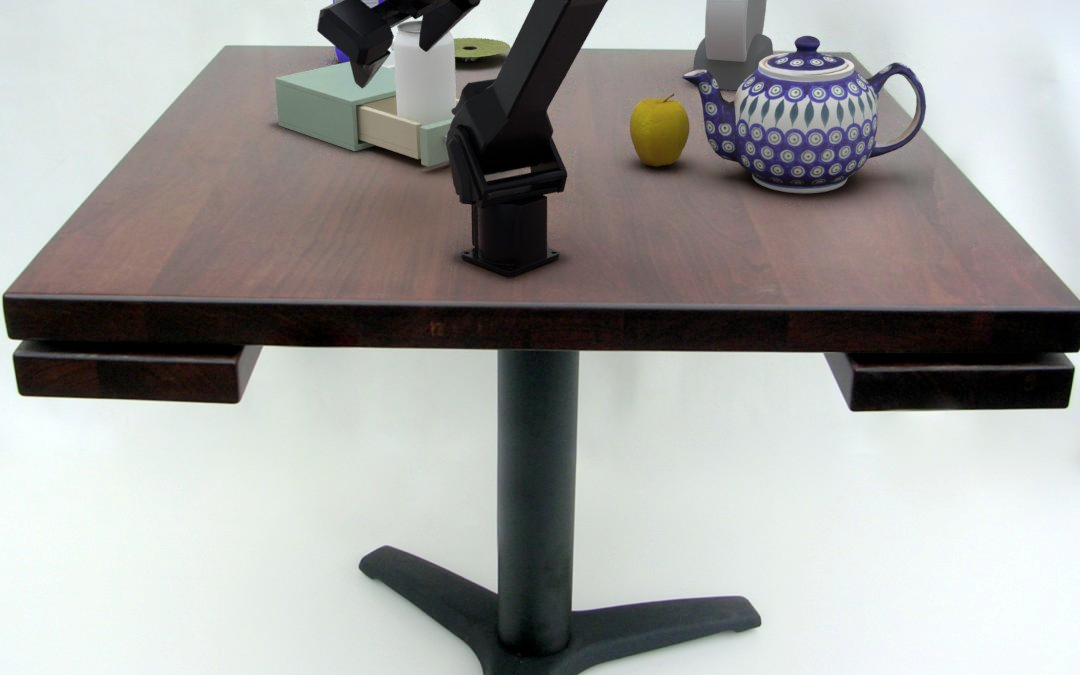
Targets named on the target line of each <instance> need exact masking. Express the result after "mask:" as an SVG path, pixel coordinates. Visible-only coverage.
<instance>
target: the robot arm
mask: <svg viewBox="0 0 1080 675" xmlns="http://www.w3.org/2000/svg"><path fill="white" fill-rule="evenodd" d="M481 1H482V0H384V2H382V3H380V4H378V5H376V6H374V7H372V8H370V7H369V6H367V5H366V4H365V3H364V2H363V1H361V0H339V1H337V2H335V3H333V2H332V3H331V4H329V5H327V6H325V7H323V8H321V9H320V10H319V15H318V20H317V26H316V31H317V32H318V34H320V35H321V36H322V37H323V38H325V39H326V40H327V41H328V42H329V43H331V44H332V45H333V46H334V47H335V46H336V47H337V48H338V49H339V50H340V51H342V52H343V53H344V54H345V55H346V56H348V57H349V61H350V65H351V69H352V73H353V77H354V81H355V83H356V84H357V85H358V86H359V87H361V88H364V87H366V86H367V84H368V83H369V82H370V81H371V80H372V78H373V77H374V75H375V74H376V73H377V71H378V70H379V69H380V67H381V66H382V64H383V63H384V62H385V61H386V59H387V58H388V56H389V55H390V53H391V52H390V51H389V50H388V49H389V48H390V46H391V45H392V42H393V38H394V36H395V35H394V33H393V30H392V29H393V28H394V27H397V26H398V25H399V24H401V23H404V22H406V21H407V20H409V19H411V18H413V20H414V21H417V20H418V19H419V18H422V19H421V20H422V23H421V29H420V36H419V47H420V48H421V49H422V50H424V51H425V52H427V51H429V50H430V49H431V48H432V47H433V46H434V45H435V44H436V43H437V42H438V41H439V40H440V39H441V38H443V37H444V36H445V35H446V34H447V33H448V32H449V31H450V32H451V30H452V29H453V28H454V27H455V26H457V24H459V23H460V22H461V21H462V20H463V19H464V18H465V17H466V16H467V15H468V14H469V13H470V12H472V11H473V10H474V9H476V7H478V6H480V4H481ZM608 1H609V0H534V1H533V3H532V4H531V7H530V8H529V11H528V13H527V15H526V17H525V19H524V21H523V23H522V25H521V26H520V29H519V31H518V33H517V35H516V37H515V40H514V41H513V43H512V46H511V47H510V49H509V52H508V54H507V56H506V58H505V59H504V62H503V63H502V66H501V68H500V71H499V72H498V74H497V77H496V78H491V79H485V80H478V81H470V82H468V83H467V84H465V86H464V87H463V88H462V90H461V92H460V96H459V98H458V99H459V102H458V104H457V105H456V107H455V108H453V109H452V114H454V115H455V116H454V118H453V120H452V122H451V125H450V129H449V131H448V134H447V141H446V146H447V152H448V157H449V161H448V162H449V168H450V172H451V177H452V178H451V179H452V184H453V187H454V191H455V194H456V195H457V196H458V199H459V203H461V205H468V206H469V205H470V211H471V212H470V214H471V246H473V247H472V248H469V249H467V250H463V251H462V252H460V254H461V255H460V256H461V259H463V260H466V261H468V262H470V263H473V264H475V265H478V266H481V267H483V268H485V269H488V270H491V271H493V272H496V273H499V274H501V275H503V276H507V277H514V276H516V275H519V274H522V273H524V272H526V271H529V270H531V269H535V268H537V267H539V266H542V265H544V264H547V263H550V262H552V261H555V260H558V259H559V258H560V251H558V250H556V249H553V248H550V247H548V196H547V195H551V194H556V193H557V194H560V193H561V194H562V193H564V192H565V187H566V184H567V179H568V170H567V169H566V166H565V164H564V162H563V159H562V157H561V155H560V152H559V150H558V147H557V145H556V144H555V141H554V139H553V135H554V128H553V125H552V123H551V119H550V117H549V114H548V109H549V107H550V105H551V103H552V102H553V99H554V98H555V96H556V94H557V92H558V91H559V89H560V88H561V85H562V83H563V82H564V80H565V78H566V77H567V75H568V74H569V71H570V70H571V67H572V65H573V64H574V62H575V60H576V59H577V56H578V55H579V53H580V51H581V49H582V48H583V46H584V44H585V42H586V40H587V38H588V37H589V35H590V33H591V32H592V30H593V27H594V26H595V25H596V23H597V21H598V18H599V17H600V15H601V13H602V12H603V9H604V8H605V6H606V4H607V3H608ZM522 169H530V172H527V173H521V174H516V175H512V176H506V177H501V178H495V179H490V180H487V179H486V176H491V175H496V174H501V173H506V172H512V171H516V170H522Z"/></svg>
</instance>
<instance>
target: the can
mask: <svg viewBox="0 0 1080 675" xmlns="http://www.w3.org/2000/svg"><path fill="white" fill-rule="evenodd" d="M421 23H422V19H421V20H420V19H419V20H418V19H416V20H409V21H404V22H402V23H400V24H398V25H396V29H397V32H396V34H395V36H396V37H395V40H394V57H395V80H396V101H397V116H399V117H402V118H405V119H408V120H412V121H415V122H418V123H421V124H422V127H423V126H426V125H430V124H434V123H437V122H441V121H445V120H448V119H452V118H454V116H455V115H454V114H452V109H453V108H455V107H456V98H457V87H456V86H457V85H456V57H455V49H454V37H453V34H452V32H451V30H450V31H449V32H448V33H447V34H446V35H445V36H444V37H443V38H441V39H440V40H439V41H438V42H437V43H436V44H435V45H434V46H433V47H432V48H431V49H430V50H429V51H427V52H425V51H424V50H422V49H421V48H420V47H419V36H420V29H421Z"/></svg>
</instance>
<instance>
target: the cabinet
mask: <svg viewBox="0 0 1080 675" xmlns="http://www.w3.org/2000/svg"><path fill="white" fill-rule="evenodd" d="M274 82H275V95H276V107H277V118H278V126H279V127H282V128H284V129H288V130H291V131H293V132H296V133H299V134H303V135H305V136H308V137H311V138H314V139H317V140H320V141H323V142H325V143H329V144H331V145H335V146H336V147H337V146H338V147H340V148H343V149H346V150H349V151H351V152H357V151H361V150H365V149H369V148H372V147H377V146H376V145H373V144H370V143H367V142H364V141H361V140H358V134H357V117H356V105H360V104H364V103H368V102H372V101H376V100H380V99H384V98H388V97H392V96H396V80H395V70H394V69H390V68H387V67H383V66H381V67H380V69H379V70H378V71H377V73H376V74H375V75H374V77H373V78H372V80H371V81H370V82H369V83H368V84H367V86H366V87H364V88H361V87H359V86H358V85H357V84H356V83H355V81H354V77H353V73H352V69H351V65H350V62H345V63H342V62H340V63H337V64H333V65H328V66H327V65H326V66H322V67H318V68H315V69H310V70H305V71H300V72H296V73H291V74H287V75H281V76H277V77H275V78H274Z"/></svg>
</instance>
